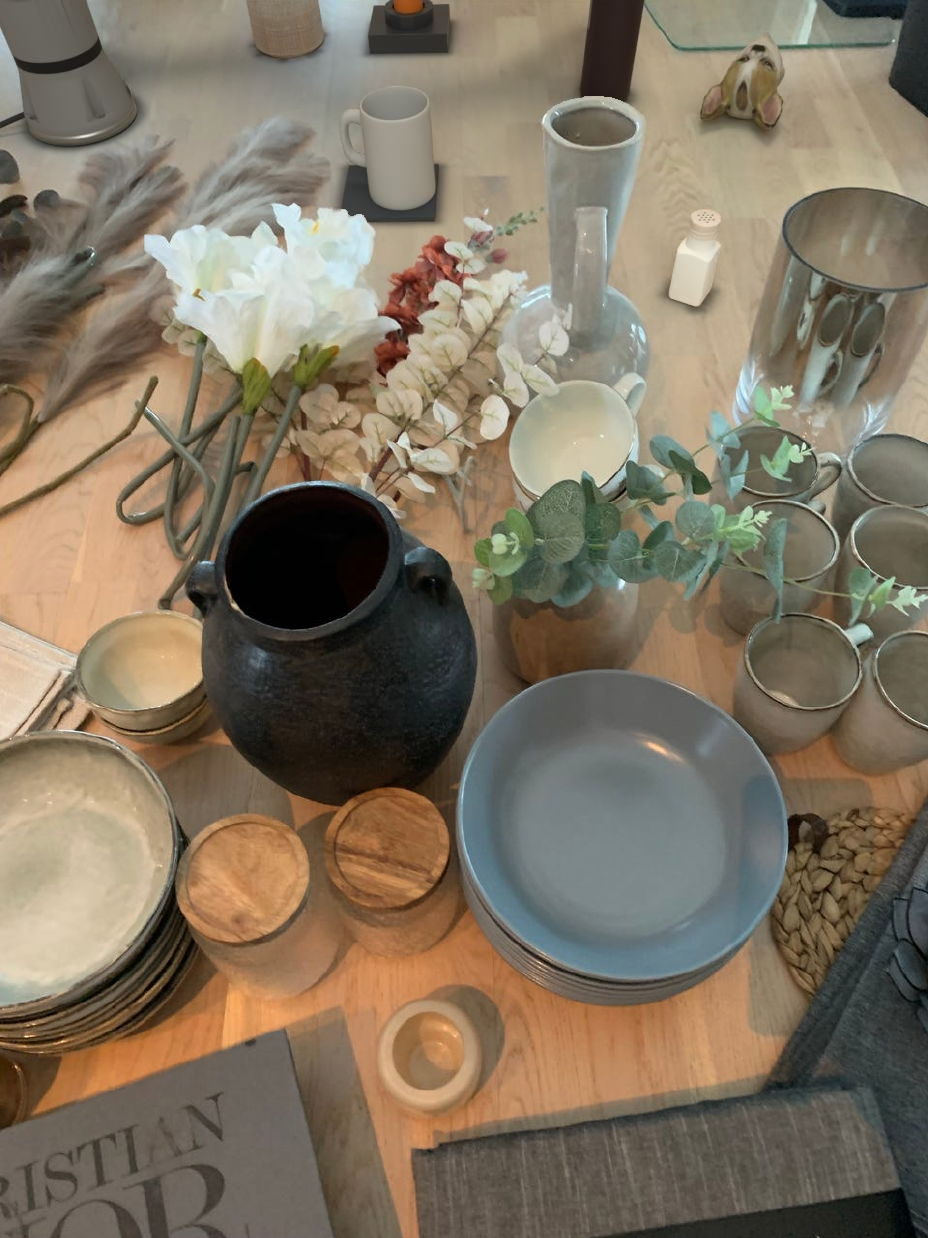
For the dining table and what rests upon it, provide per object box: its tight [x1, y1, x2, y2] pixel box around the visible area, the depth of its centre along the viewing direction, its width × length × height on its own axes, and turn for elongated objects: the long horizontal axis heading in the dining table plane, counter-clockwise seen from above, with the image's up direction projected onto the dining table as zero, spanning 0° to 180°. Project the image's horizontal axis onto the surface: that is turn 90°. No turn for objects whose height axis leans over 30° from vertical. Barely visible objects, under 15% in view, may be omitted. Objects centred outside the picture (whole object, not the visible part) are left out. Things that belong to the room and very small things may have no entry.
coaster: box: [340, 163, 440, 222], centre depth 111 cm, size 12×12×1 cm
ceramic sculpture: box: [699, 31, 786, 131], centre depth 117 cm, size 11×9×15 cm
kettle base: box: [367, 0, 451, 55], centre depth 133 cm, size 12×10×4 cm
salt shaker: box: [668, 208, 722, 307], centre depth 95 cm, size 4×4×10 cm
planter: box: [245, 0, 325, 59], centre depth 131 cm, size 11×11×10 cm
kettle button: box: [394, 0, 423, 13], centre depth 131 cm, size 4×4×2 cm
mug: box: [339, 85, 435, 211], centre depth 106 cm, size 12×8×11 cm
